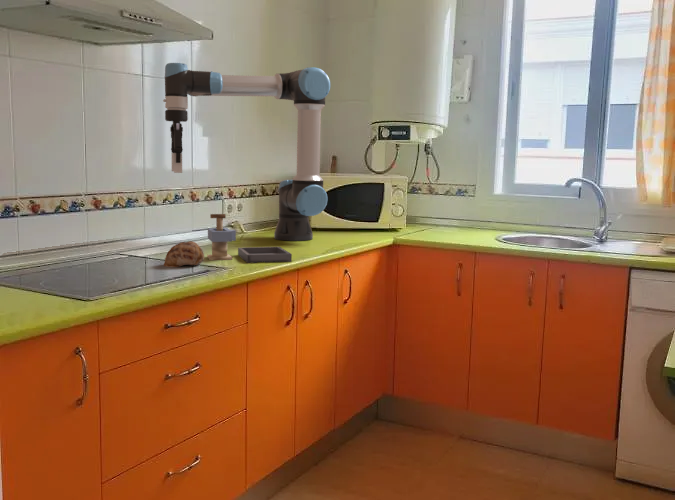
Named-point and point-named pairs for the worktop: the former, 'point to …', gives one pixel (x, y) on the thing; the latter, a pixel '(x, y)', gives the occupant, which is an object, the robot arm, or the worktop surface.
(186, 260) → the seashell
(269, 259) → the tray
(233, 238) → the ring
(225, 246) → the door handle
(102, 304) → the worktop surface
